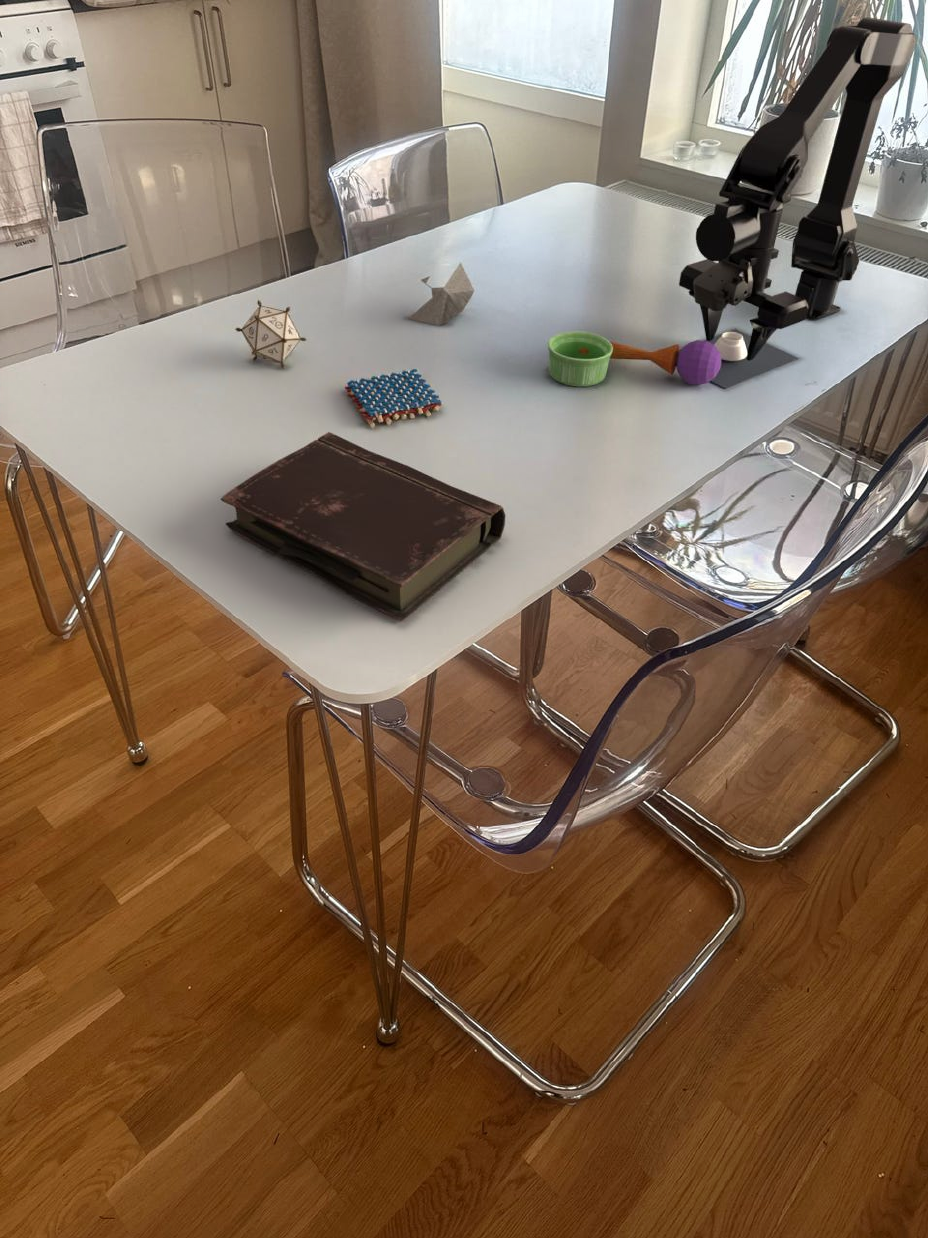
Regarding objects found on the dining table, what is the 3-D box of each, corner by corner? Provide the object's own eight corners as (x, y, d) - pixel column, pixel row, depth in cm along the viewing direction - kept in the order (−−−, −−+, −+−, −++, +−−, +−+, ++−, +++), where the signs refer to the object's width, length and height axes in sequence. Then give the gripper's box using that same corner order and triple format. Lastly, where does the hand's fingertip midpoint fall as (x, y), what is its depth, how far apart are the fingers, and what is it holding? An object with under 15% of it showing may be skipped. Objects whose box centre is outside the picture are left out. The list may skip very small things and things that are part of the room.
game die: (290, 381, 137) (327, 328, 132) (256, 385, 129) (295, 330, 125) (249, 338, 137) (285, 284, 133) (213, 340, 130) (250, 282, 125)
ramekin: (558, 354, 136) (561, 325, 133) (617, 368, 134) (621, 339, 131) (535, 380, 130) (538, 350, 127) (596, 395, 128) (601, 365, 125)
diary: (336, 462, 114) (332, 426, 110) (504, 537, 103) (506, 500, 100) (221, 535, 102) (213, 497, 99) (397, 628, 92) (395, 589, 88)
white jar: (710, 346, 139) (711, 361, 135) (714, 327, 137) (715, 342, 133) (744, 349, 139) (746, 364, 135) (749, 330, 137) (751, 345, 133)
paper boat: (430, 328, 140) (388, 295, 143) (439, 350, 146) (399, 318, 149) (485, 271, 140) (442, 239, 143) (492, 295, 146) (451, 264, 149)
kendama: (589, 321, 135) (728, 339, 129) (585, 362, 138) (720, 382, 132) (576, 329, 131) (719, 348, 124) (572, 371, 134) (712, 392, 127)
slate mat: (735, 329, 144) (735, 328, 144) (798, 358, 137) (798, 357, 137) (662, 356, 137) (662, 355, 137) (724, 388, 130) (725, 388, 129)
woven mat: (342, 392, 127) (341, 379, 126) (415, 379, 130) (415, 365, 129) (367, 429, 120) (366, 415, 118) (443, 414, 123) (443, 400, 122)
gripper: (660, 232, 128) (644, 340, 138) (768, 277, 117) (742, 390, 127) (716, 217, 133) (696, 322, 143) (824, 258, 122) (794, 368, 132)
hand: (729, 349), depth 136 cm, fingers open, 7 cm apart
